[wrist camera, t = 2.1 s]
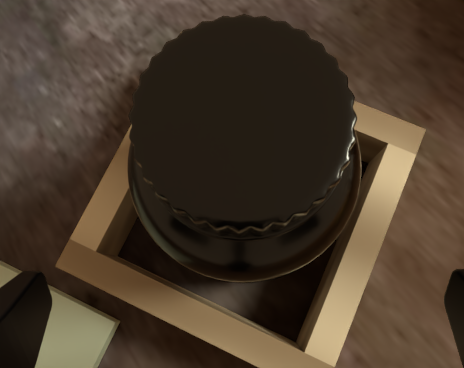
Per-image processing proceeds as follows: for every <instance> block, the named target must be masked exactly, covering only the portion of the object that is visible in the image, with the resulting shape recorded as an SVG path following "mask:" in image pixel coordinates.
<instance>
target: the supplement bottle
mask: <svg viewBox="0 0 464 368" xmlns="http://www.w3.org/2000/svg"><path fill="white" fill-rule="evenodd" d="M354 99H355V97H354V95H353V93H352V92H351V91H350V90H349V88H348V77H347V76H346V75H345V74H344V73H343V72H342V71H341V70H340V69H339V67H338V63H337V60H336V58H334V57H333V56H331V55H330V54H328V53H326V50H325V48H324V46H323V45H322V43H320V42H318V41H315V40H313V39H311V38H310V37H309V35H308V34H307V33H306V32H305V31H303V30H300V29H294V28H293V27H291V26H290V25H289V24H288V23H287V22H284V21H273V20H271V19H270V18H268V17H266V16H260V17H252V16H249V15H246V14H243V15H239V16H236V17H229V16H222V17H220V18H218V19H216V20H214V21H202V22H201V23H200V24H198V25H197V26H196V27H195V28H192V29H186V30H183V31H182V32H181V33H180V35H179V36H178V37H177V38H176V39H173V40H171V41H168V42H166V44H165V45H164V47H163V49H162V51H161V52H160V53H158V54H156V55H155V56H153V57H152V58H151V61H150V64H149V67H148V68H147V69H146V70H145V71H144V72H143V73H142V74H141V75H140V83H139V87H138V88H137V89H136V90H135V92H134V93H133V103H134V105H133V108H132V109H131V111H130V113H129V119H130V122H131V124H132V127H131V130H130V134H129V139H130V141H131V143H130V147H129V153H128V167H127V172H128V183H129V189H130V194H131V198H132V201H133V205H134V207H135V210H136V212H137V215H138V217H139V219H140V221H141V223H142V224H143V226H144V228H145V229H146V231H147V232H148V234H149V235H150V236H151V238H152V239H153V240H154V241H155V242H156V244H157V245H158V246H159V247H160V248H161V249H162V250H163V251H164V252H166V253H167V254H168V255H169V256H170V257H172V258H173V259H174V260H176V261H177V262H179V263H180V264H182V265H183V266H185V267H187V268H189V269H190V270H192V271H194V272H196V273H199V274H201V275H204V276H206V277H210V278H213V279H217V280H222V281H227V282H238V283H251V282H261V281H267V280H271V279H276V278H279V277H282V276H285V275H287V274H290V273H292V272H294V271H296V270H298V269H300V268H302V267H303V266H305V265H307V264H308V263H310V262H311V261H313V260H314V259H315V258H317V257H318V256H319V255H320V254H322V253H323V252H324V251H325V250H326V249H327V248H328V247H329V246H330V245H331V244H332V243H333V242H334V241H335V239H336V238H337V237H338V236H339V234H340V233H341V231H342V230H343V229H344V227H345V225H346V223H347V222H348V220H349V218H350V216H351V214H352V211H353V209H354V206H355V203H356V200H357V197H358V193H359V188H360V181H361V153H360V147H359V142H358V138H357V135H356V132H355V129H354V127H355V125H356V122H357V116H356V113H355V111H354V109H353V105H354Z"/></svg>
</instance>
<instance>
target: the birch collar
mask: <svg viewBox="0 0 464 368" xmlns="http://www.w3.org/2000/svg"><path fill="white" fill-rule="evenodd" d="M353 109H354V111H355V113H356V116H357V122H356V125H355V127H354V129H355V132H356V135H357V138H358V142H359V147H360V153H361V160H362V161H364V162H367V163H368V166H367V168H366V171H365V173H364V176H363V178H362V180H361V183H360V188H359V193H358V197H357V200H356V203H355V206H354V209H353V211H352V214H351V216H350V218H349V220H348V222H347V223H346V225H345V227H344V229H343V230H342V231H341V233H340V235H339V237H338V239H337V242H336V244H335V247H334V249H333V252H332V254H331V257H330V259H329V262H328V264H327V266H326V269H325V271H324V274H323V276H322V279H321V281H320V284H319V286H318V289H317V291H316V293H315V296H314V298H313V301H312V303H311V306H310V308H309V311H308V313H307V316H306V318H305V320H304V323H303V325H302V328H301V330H300V333H299V335H298V338H297V340H296V342H294V341H292V340H290V339H288V338H286V337H284V336H282V335H280V334H278V333H275V332H273V331H271V330H269V329H267V328H265V327H263V326H261V325H259V324H257V323H255V322H253V321H251V320H249V319H246V318H244V317H242V316H240V315H238V314H236V313H234V312H232V311H230V310H228V309H226V308H224V307H222V306H220V305H217V304H215V303H213V302H211V301H209V300H207V299H205V298H203V297H201V296H199V295H197V294H195V293H193V292H191V291H188V290H186V289H184V288H182V287H180V286H178V285H176V284H174V283H172V282H170V281H168V280H166V279H164V278H162V277H159V276H157V275H155V274H153V273H151V272H149V271H147V270H145V269H143V268H141V267H139V266H137V265H135V264H133V263H130V262H128V261H126V260H124V259H122V258H120V257H118V254H119V252H120V250H121V248H122V246H123V244H124V243H125V241H126V239H127V237H128V235H129V233H130V231H131V229H132V227H133V225H134V223H135V221H136V219H137V217H138V215H137V212H136V210H135V207H134V205H133V201H132V198H131V194H130V189H129V183H128V172H127V167H128V153H129V147H130V143H131V141H130V139H129V134H130V130H131V127H132V124H131V126H130V128H129V130H128V132H127V133H126V135H125V137H124V139H123V141H122V143H121V145H120V146H119V148H118V150H117V152H116V154H115V156H114V158H113V159H112V161H111V163H110V165H109V167H108V169H107V171H106V172H105V174H104V176H103V178H102V180H101V182H100V184H99V185H98V187H97V189H96V191H95V193H94V195H93V197H92V198H91V200H90V202H89V204H88V206H87V208H86V210H85V211H84V213H83V215H82V217H81V219H80V221H79V223H78V224H77V226H76V228H75V230H74V232H73V234H72V236H71V237H70V239H69V241H68V243H67V245H66V247H65V249H64V250H63V252H62V254H61V256H60V258H59V260H58V262H57V263H56V265H55V267H57V268H59V269H61V270H63V271H65V272H67V273H69V274H71V275H73V276H75V277H77V278H79V279H81V280H83V281H85V282H87V283H89V284H92V285H94V286H96V287H98V288H100V289H102V290H104V291H106V292H108V293H110V294H112V295H114V296H116V297H118V298H120V299H122V300H124V301H126V302H128V303H130V304H132V305H134V306H136V307H138V308H140V309H142V310H144V311H146V312H148V313H150V314H152V315H154V316H156V317H158V318H160V319H162V320H164V321H166V322H168V323H170V324H172V325H174V326H176V327H178V328H180V329H182V330H184V331H186V332H188V333H190V334H192V335H194V336H196V337H198V338H200V339H202V340H204V341H206V342H208V343H210V344H212V345H214V346H216V347H218V348H220V349H222V350H224V351H226V352H228V353H230V354H232V355H234V356H236V357H239V358H241V359H243V360H245V361H247V362H249V363H251V364H253V365H255V366H257V367H259V368H334V367H335V365H336V362H337V359H338V357H339V354H340V352H341V349H342V346H343V344H344V341H345V339H346V336H347V333H348V331H349V328H350V326H351V323H352V320H353V318H354V315H355V313H356V310H357V307H358V305H359V302H360V300H361V297H362V294H363V292H364V289H365V287H366V284H367V281H368V279H369V276H370V274H371V271H372V268H373V266H374V263H375V261H376V258H377V255H378V253H379V250H380V248H381V245H382V242H383V240H384V237H385V235H386V232H387V229H388V227H389V224H390V222H391V219H392V216H393V214H394V211H395V209H396V206H397V203H398V201H399V198H400V196H401V193H402V190H403V188H404V185H405V183H406V180H407V177H408V175H409V172H410V170H411V167H412V164H413V162H414V159H415V157H416V154H417V151H418V149H419V146H420V144H421V141H422V138H423V136H424V133H425V130H426V129H423V128H421V127H418V126H416V125H413V124H411V123H408V122H406V121H403V120H401V119H398V118H396V117H393V116H391V115H388V114H386V113H383V112H381V111H378V110H376V109H373V108H371V107H368V106H366V105H363V104H361V103H358V102H356V101H354V105H353Z"/></svg>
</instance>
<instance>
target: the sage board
mask: <svg viewBox="0 0 464 368" xmlns="http://www.w3.org/2000/svg"><path fill="white" fill-rule="evenodd" d="M21 272H22V271H20V270H18V269H16V268H14V267H12V266H10V265H8V264H6V263H4V262H2V261H0V287H2V286H3V285H4V284H6V283H7V282H9V281H10V280H11V279H13V278H14V277H15V276H17V275H18V274H20V273H21ZM48 287H49V290H50V293H51V295H52V308H51V312H50V316H49V319H48V323H47V326H46V330H45V334H44V337H43V341H42V344H41V348H40V352H39V355H38V359H37V362H36V366H35V368H98V366H99V364H100V362H101V359H102V357H103V355H104V353H105V351H106V349H107V347H108V345H109V343H110V341H111V339H112V337H113V335H114V333H115V331H116V329H117V327H118V325H119V323H120V321H119V320H117V319H115V318H113V317H111V316H109V315H107V314H105V313H103V312H102V311H100V310H98V309H96V308H94V307H92V306H90V305H88V304H86V303H84V302H82V301H80V300H78V299H76V298H74V297H72V296H70V295H68V294H66V293H64V292H62V291H60V290H58V289H56V288H54V287H52V286H50V285H48Z"/></svg>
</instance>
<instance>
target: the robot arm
mask: <svg viewBox="0 0 464 368" xmlns="http://www.w3.org/2000/svg"><path fill="white" fill-rule="evenodd" d="M444 305H445V309H446V312H447V315H448V319H449V322H450V325H451V329H452V332H453V335H454V339H455V342H456V345H457V349H458V352H459V355H460V359H461V362H462V365H463V368H464V269H456V270H454V271H453V272H452V274H451V277H450V280H449V283H448V286H447V289H446V292H445V296H444ZM51 308H52V295H51V293H50V290H49V287H48V284H47V281H46V279H45V276H44V274H43V273H42V272H40V271H24V272H21V273H20V274H18V275H17V276H15V277H14V278H13V279H11V280H10V281H9V282H7V283H6V284H4V285H3V286H2V287H0V368H35V366H36V362H37V359H38V355H39V352H40V348H41V344H42V341H43V337H44V334H45V330H46V326H47V323H48V319H49V316H50V312H51Z"/></svg>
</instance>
